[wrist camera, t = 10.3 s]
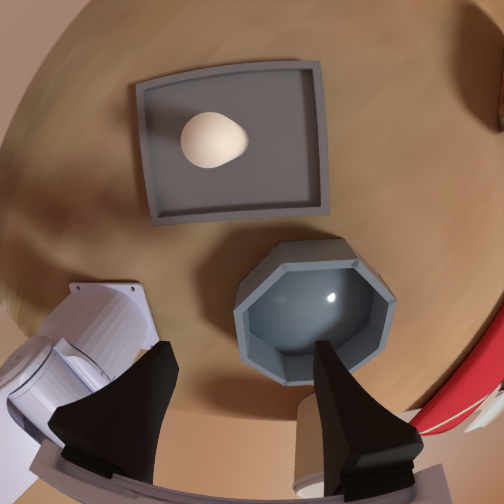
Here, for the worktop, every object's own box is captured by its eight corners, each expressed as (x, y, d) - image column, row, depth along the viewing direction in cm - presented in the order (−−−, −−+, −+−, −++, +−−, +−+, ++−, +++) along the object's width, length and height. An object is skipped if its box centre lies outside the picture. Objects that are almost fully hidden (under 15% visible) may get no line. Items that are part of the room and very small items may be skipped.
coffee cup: (283, 423, 31) (283, 500, 20) (301, 381, 27) (308, 478, 16) (347, 423, 31) (359, 495, 20) (375, 383, 27) (399, 466, 16)
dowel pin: (215, 160, 18) (184, 171, 11) (212, 125, 17) (178, 117, 10) (250, 156, 18) (240, 165, 11) (247, 121, 17) (234, 108, 10)
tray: (159, 220, 21) (152, 226, 20) (144, 87, 17) (135, 84, 16) (325, 209, 20) (329, 215, 19) (316, 66, 16) (320, 60, 14)
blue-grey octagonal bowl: (247, 357, 26) (244, 387, 23) (233, 243, 22) (226, 265, 18) (366, 349, 25) (376, 376, 21) (384, 236, 20) (404, 255, 17)
